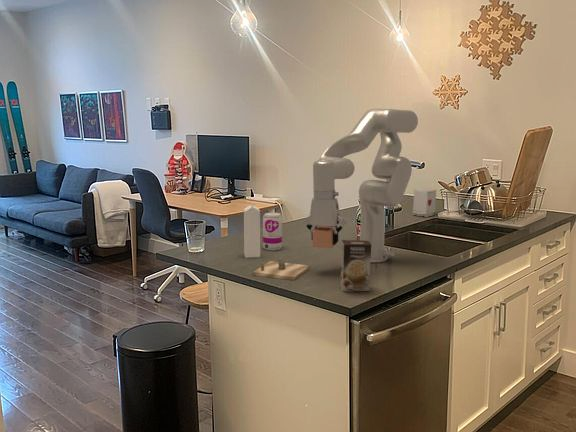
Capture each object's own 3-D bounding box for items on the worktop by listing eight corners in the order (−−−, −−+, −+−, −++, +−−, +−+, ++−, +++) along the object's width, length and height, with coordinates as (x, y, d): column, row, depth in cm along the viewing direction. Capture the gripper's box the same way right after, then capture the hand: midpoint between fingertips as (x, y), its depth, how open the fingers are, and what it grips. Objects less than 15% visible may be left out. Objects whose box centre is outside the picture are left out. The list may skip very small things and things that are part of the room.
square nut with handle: (331, 248, 205) (331, 231, 204) (312, 246, 208) (312, 230, 206) (341, 239, 216) (341, 223, 215) (323, 238, 219) (323, 222, 217)
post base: (309, 268, 215) (309, 255, 214) (294, 280, 201) (294, 266, 200) (270, 264, 221) (270, 251, 220) (252, 275, 207) (252, 261, 206)
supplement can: (279, 251, 241) (280, 216, 238) (260, 250, 242) (260, 215, 240) (284, 246, 249) (284, 212, 246) (265, 245, 250) (265, 211, 247)
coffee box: (342, 292, 189) (343, 244, 186) (339, 286, 195) (340, 239, 192) (370, 291, 189) (371, 244, 186) (366, 285, 195) (368, 239, 192)
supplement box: (425, 218, 315) (427, 190, 312) (412, 215, 321) (413, 189, 319) (435, 216, 321) (436, 189, 318) (421, 213, 327) (423, 187, 325)
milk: (258, 253, 237) (258, 200, 233) (260, 257, 231) (260, 203, 227) (243, 254, 236) (243, 201, 232) (245, 257, 230) (245, 203, 226)
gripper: (350, 194, 206) (350, 242, 209) (304, 192, 212) (306, 238, 216) (344, 197, 199) (345, 247, 203) (297, 195, 205) (298, 244, 209)
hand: (324, 242), depth 209 cm, fingers closed on square nut with handle, 7 cm apart
